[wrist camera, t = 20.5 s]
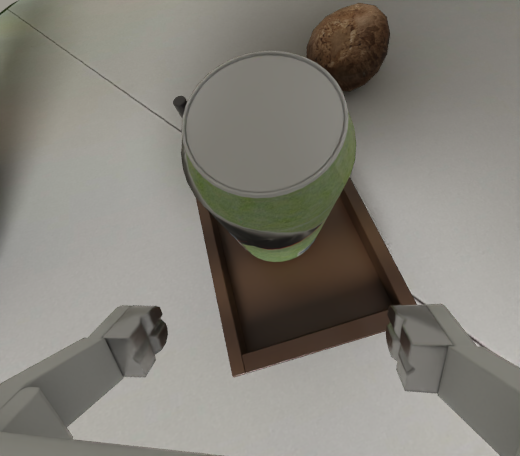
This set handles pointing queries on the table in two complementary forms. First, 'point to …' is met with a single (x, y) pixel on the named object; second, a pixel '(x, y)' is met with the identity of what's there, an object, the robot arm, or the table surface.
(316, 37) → the mushroom
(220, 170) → the beverage can
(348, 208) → the tray
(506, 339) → the table surface
